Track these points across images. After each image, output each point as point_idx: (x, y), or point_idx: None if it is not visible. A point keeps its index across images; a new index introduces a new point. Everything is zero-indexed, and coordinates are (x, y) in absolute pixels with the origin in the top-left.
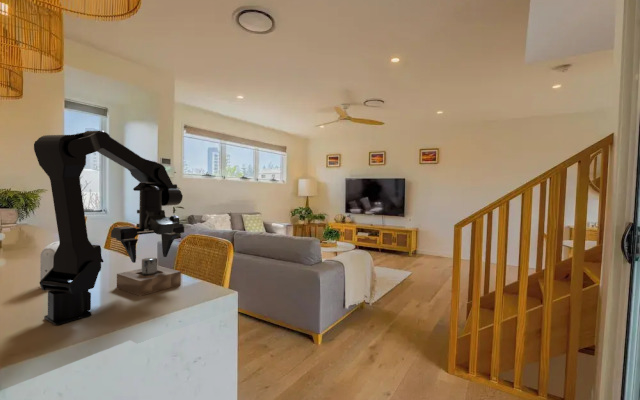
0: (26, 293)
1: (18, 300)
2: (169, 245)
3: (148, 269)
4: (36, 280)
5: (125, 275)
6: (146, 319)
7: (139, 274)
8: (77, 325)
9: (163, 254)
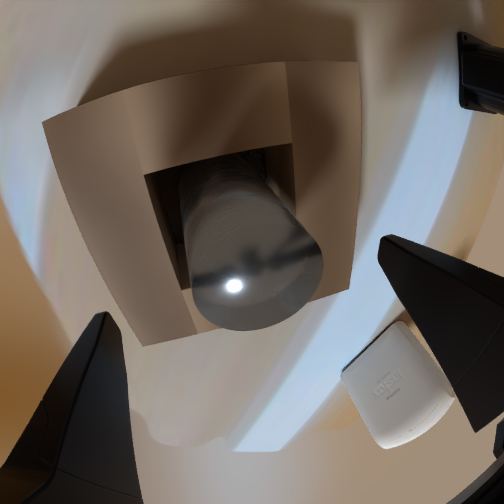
0: None
1: None
2: (53, 409)
3: (268, 193)
4: None
5: (348, 237)
6: None
7: None
8: (476, 12)
9: (120, 346)
